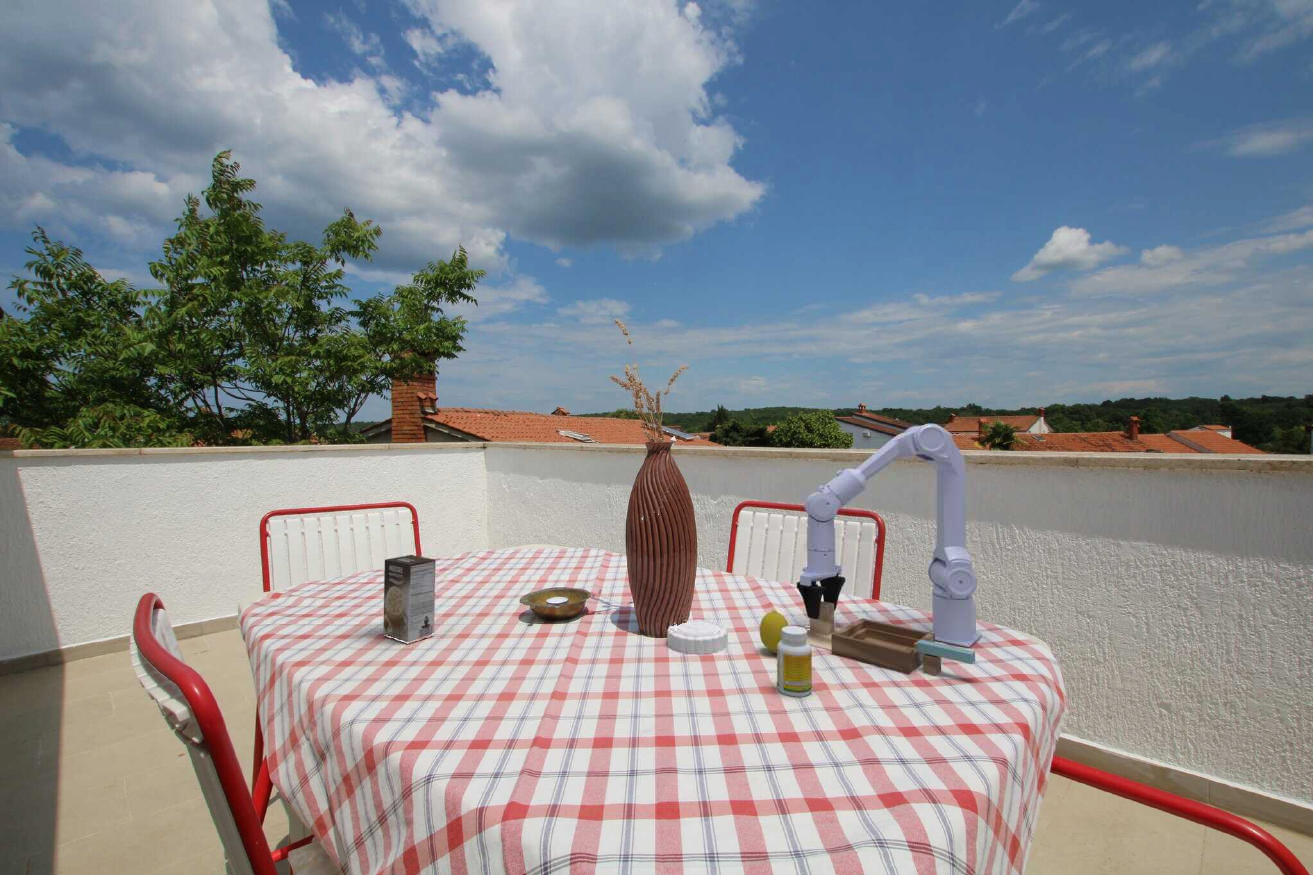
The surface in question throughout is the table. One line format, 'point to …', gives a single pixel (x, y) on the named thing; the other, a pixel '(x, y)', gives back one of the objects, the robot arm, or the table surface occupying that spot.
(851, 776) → the table surface
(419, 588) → the coffee box
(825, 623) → the lid
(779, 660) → the supplement bottle
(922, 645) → the rectangular block
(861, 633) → the tray
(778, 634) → the lemon
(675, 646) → the mooncake
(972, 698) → the table surface
